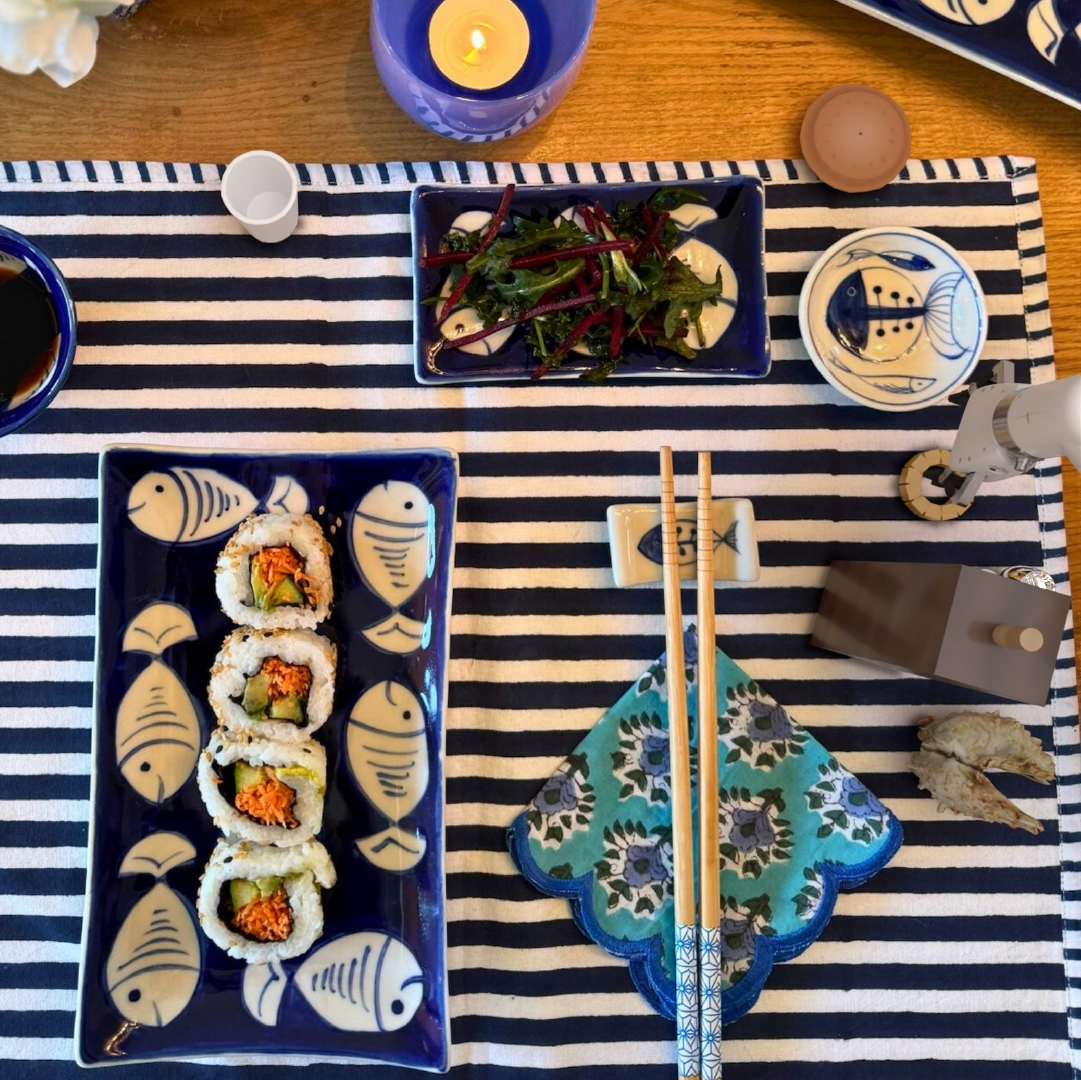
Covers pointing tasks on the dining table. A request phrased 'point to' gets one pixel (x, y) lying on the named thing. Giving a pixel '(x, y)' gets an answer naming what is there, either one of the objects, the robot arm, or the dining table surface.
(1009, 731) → the seashell
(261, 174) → the cup
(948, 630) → the peg stand
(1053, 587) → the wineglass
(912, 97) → the dining table surface
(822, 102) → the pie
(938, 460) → the ring
